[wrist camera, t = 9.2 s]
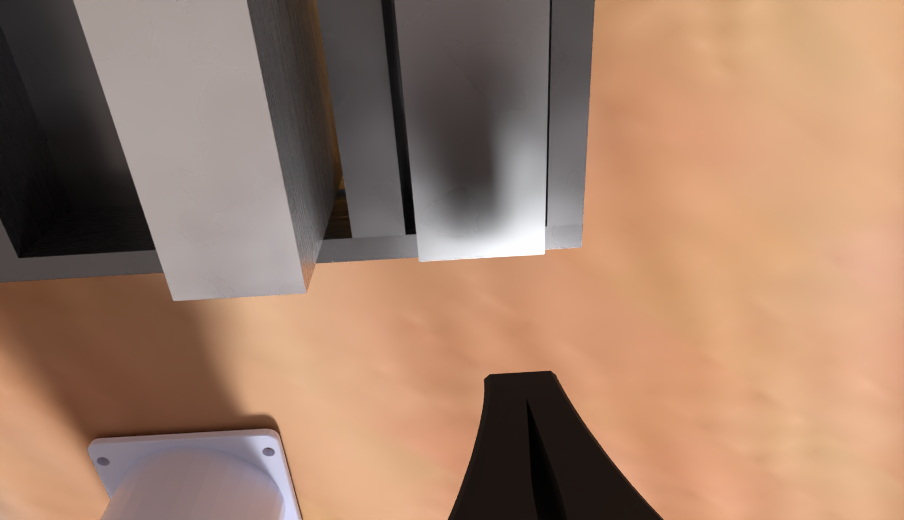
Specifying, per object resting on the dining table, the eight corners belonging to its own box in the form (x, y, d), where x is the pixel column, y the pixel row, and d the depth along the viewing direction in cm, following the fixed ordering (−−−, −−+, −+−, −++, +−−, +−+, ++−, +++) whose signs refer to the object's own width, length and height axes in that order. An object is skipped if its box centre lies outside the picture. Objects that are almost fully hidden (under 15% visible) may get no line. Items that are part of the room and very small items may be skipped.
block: (343, 171, 20) (306, 293, 14) (249, 177, 21) (173, 301, 14) (299, -120, 16) (221, -121, 10) (182, -113, 16) (37, -109, 10)
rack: (558, 189, 22) (603, 302, 16) (62, 219, 22) (-71, 342, 16) (570, -216, 16) (648, -270, 10) (-97, -172, 16) (-391, -202, 11)
